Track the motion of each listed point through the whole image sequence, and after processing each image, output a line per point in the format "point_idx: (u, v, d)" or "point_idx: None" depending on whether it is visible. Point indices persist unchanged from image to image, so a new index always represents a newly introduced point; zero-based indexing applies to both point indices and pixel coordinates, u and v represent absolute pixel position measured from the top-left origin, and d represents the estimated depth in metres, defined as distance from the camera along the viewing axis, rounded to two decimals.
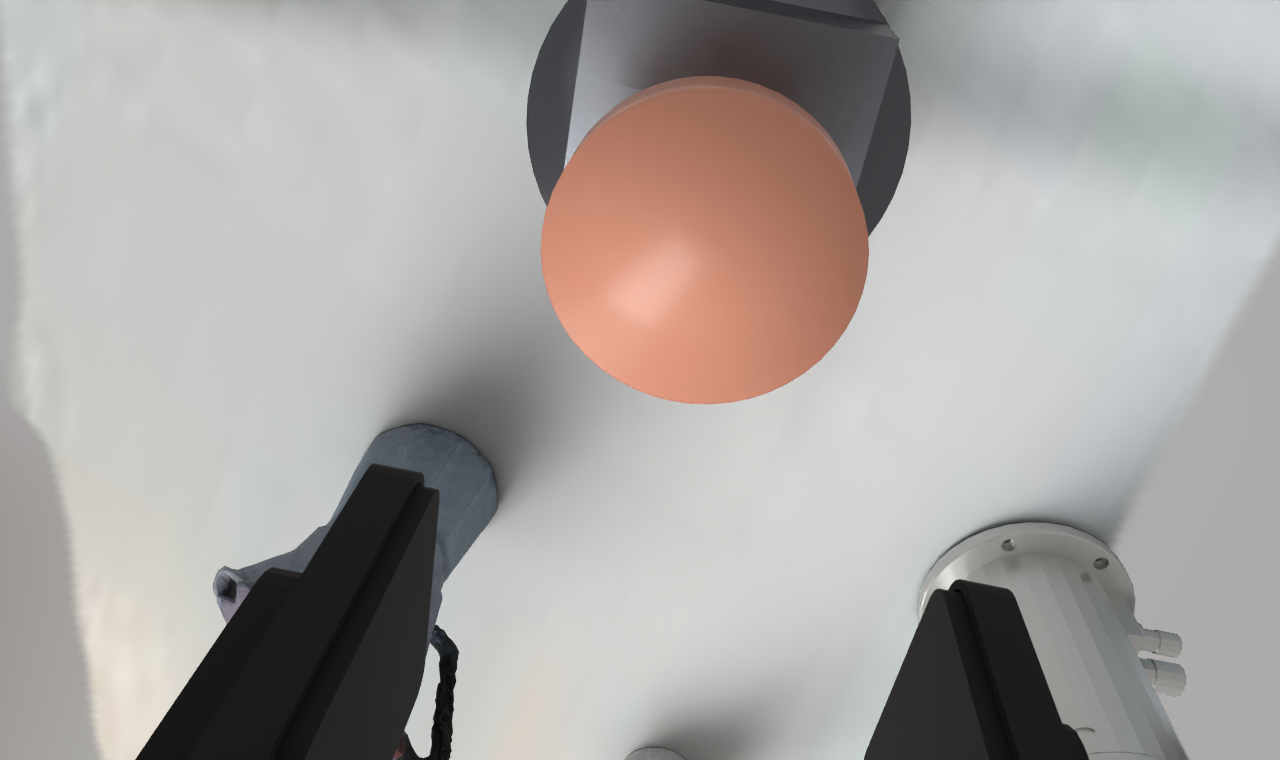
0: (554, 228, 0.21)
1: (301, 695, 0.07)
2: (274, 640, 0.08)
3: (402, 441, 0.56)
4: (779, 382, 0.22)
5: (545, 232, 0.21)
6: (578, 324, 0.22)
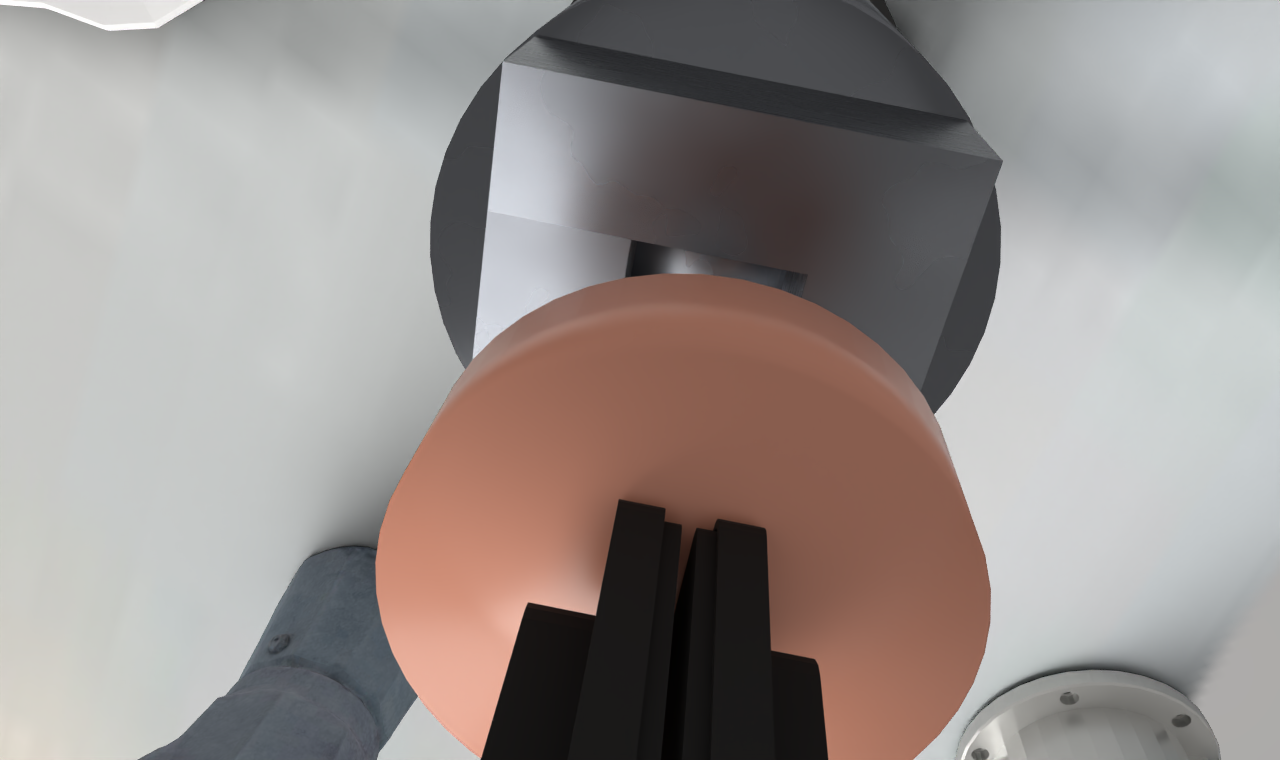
0: (397, 560, 0.11)
1: (638, 739, 0.07)
2: (595, 683, 0.08)
3: (333, 570, 0.47)
4: None
5: (381, 566, 0.11)
6: (453, 706, 0.12)
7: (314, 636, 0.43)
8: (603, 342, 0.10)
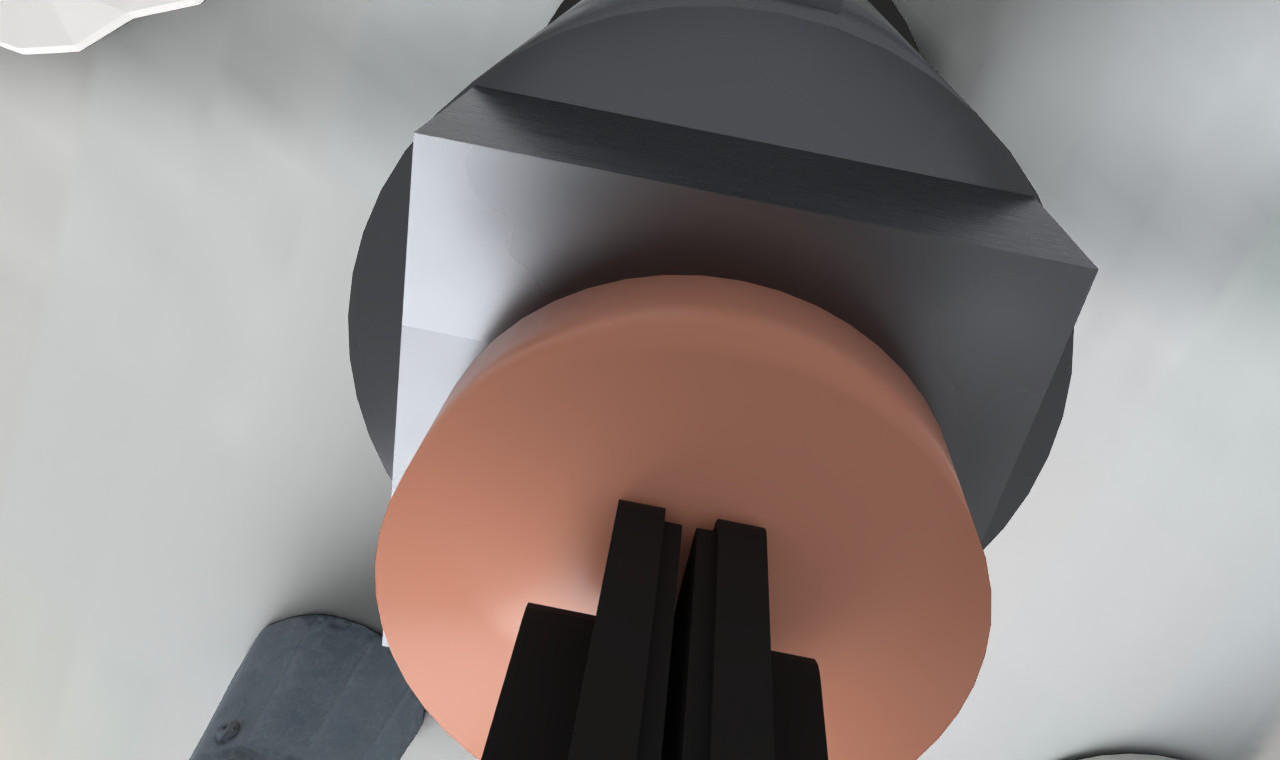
0: (397, 562, 0.11)
1: (638, 738, 0.07)
2: (595, 683, 0.08)
3: (292, 644, 0.42)
4: None
5: (381, 567, 0.11)
6: (453, 708, 0.12)
7: (267, 724, 0.39)
8: (603, 343, 0.10)
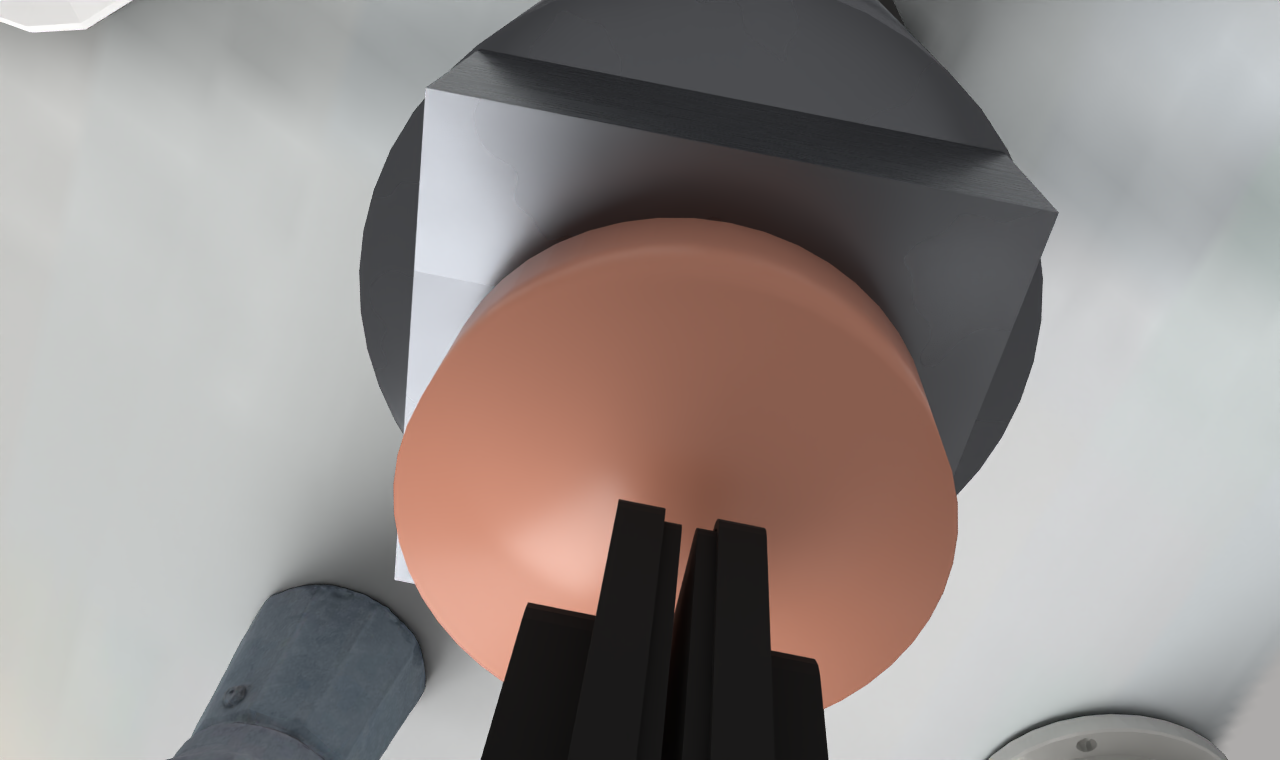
0: (414, 482, 0.12)
1: (638, 737, 0.07)
2: (595, 682, 0.08)
3: (296, 612, 0.43)
4: None
5: (399, 487, 0.12)
6: (465, 622, 0.13)
7: (273, 688, 0.40)
8: (603, 274, 0.11)
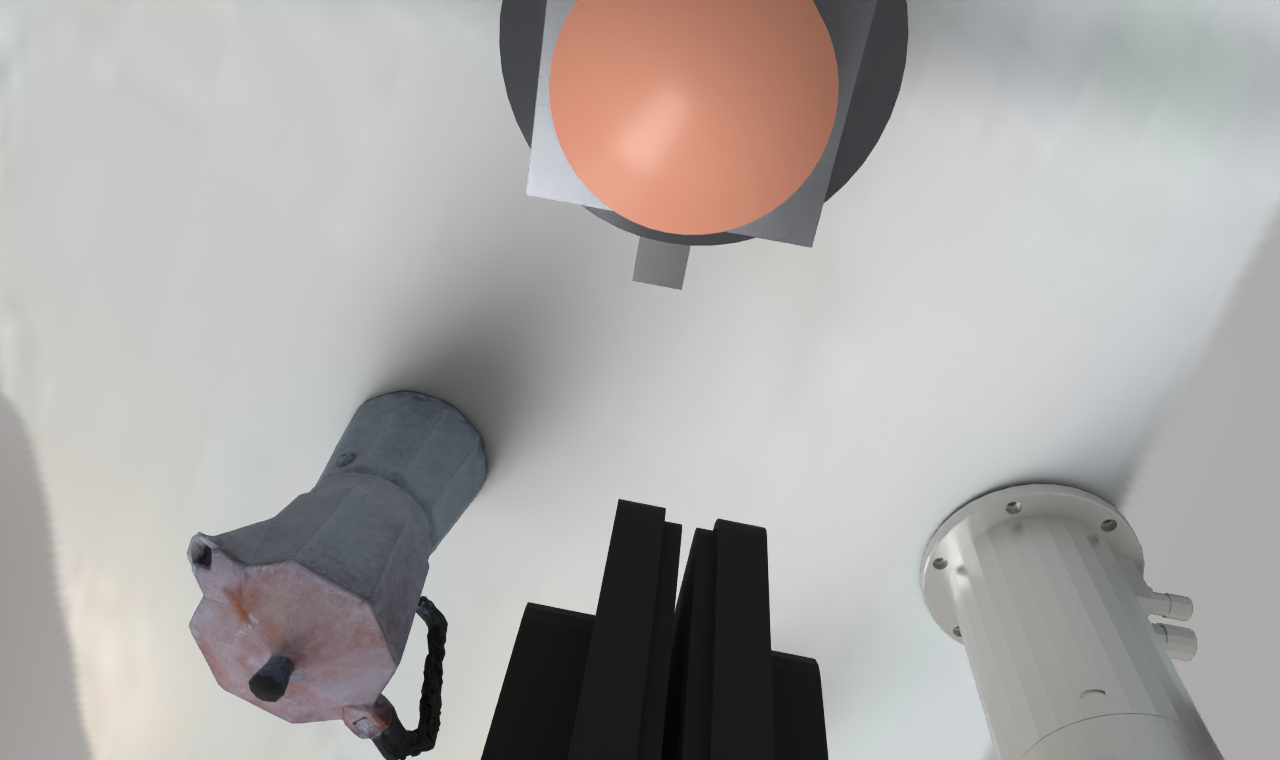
0: (560, 69, 0.23)
1: (638, 739, 0.07)
2: (595, 683, 0.08)
3: (387, 408, 0.55)
4: (762, 212, 0.25)
5: (552, 73, 0.23)
6: (582, 161, 0.24)
7: (375, 453, 0.51)
8: None
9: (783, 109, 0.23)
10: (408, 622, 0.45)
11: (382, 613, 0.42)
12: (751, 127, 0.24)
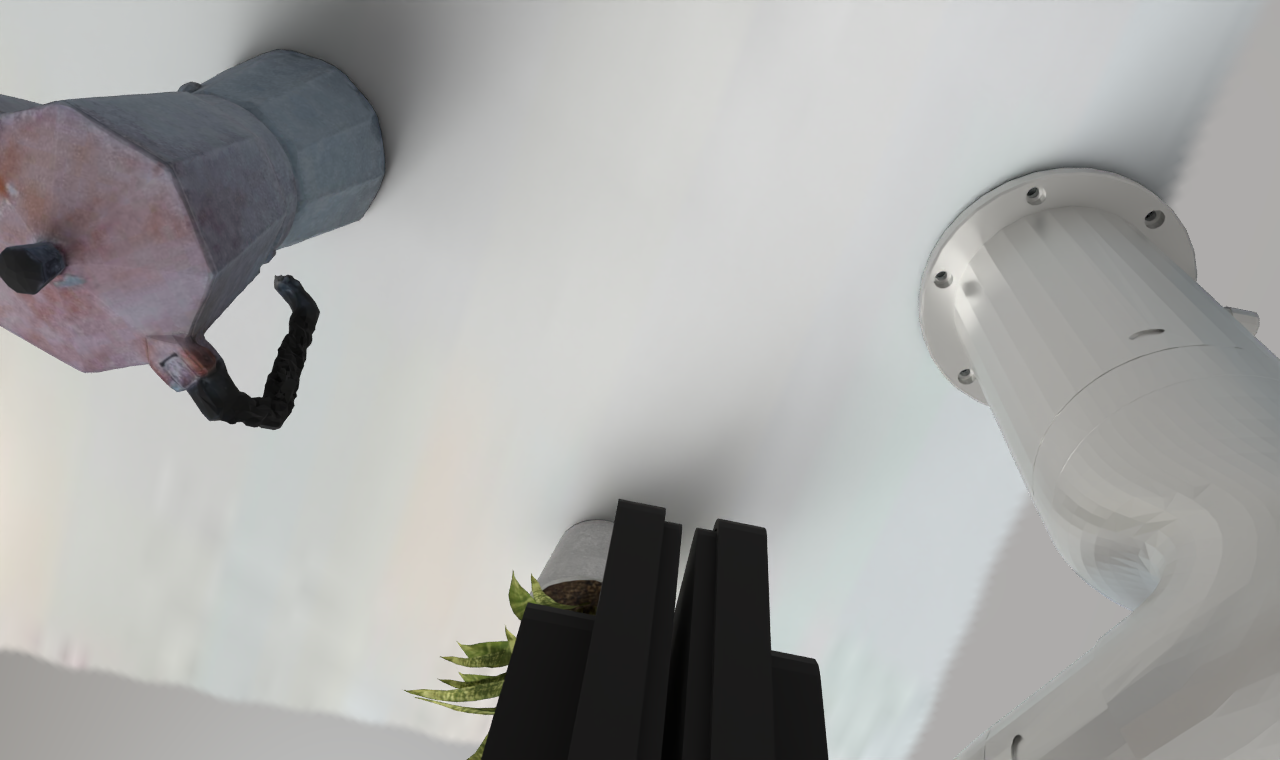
0: None
1: (638, 739, 0.07)
2: (595, 682, 0.08)
3: (254, 59, 0.44)
4: None
5: None
6: None
7: (227, 84, 0.40)
8: None
9: None
10: (240, 240, 0.34)
11: (191, 195, 0.31)
12: None
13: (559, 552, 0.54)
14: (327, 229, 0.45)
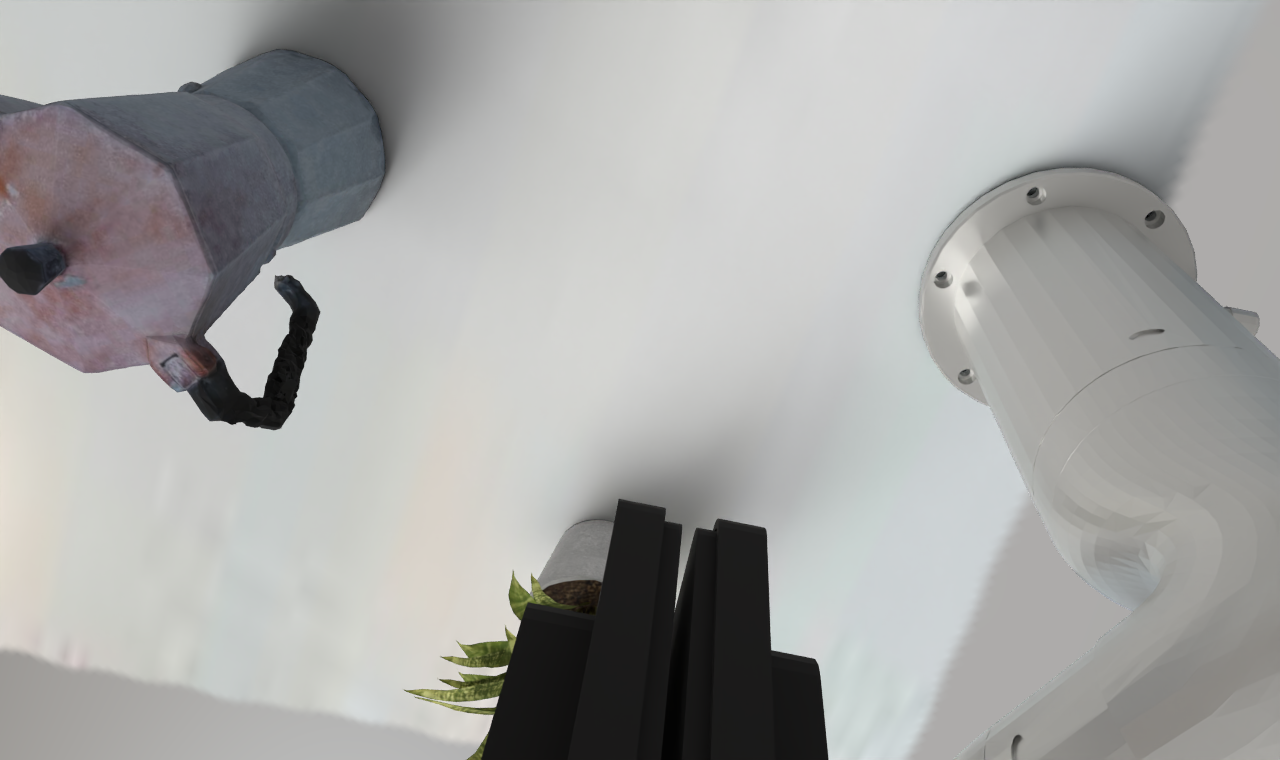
0: None
1: (638, 737, 0.07)
2: (595, 682, 0.08)
3: (254, 59, 0.44)
4: None
5: None
6: None
7: (227, 84, 0.40)
8: None
9: None
10: (241, 241, 0.34)
11: (192, 195, 0.31)
12: None
13: (559, 552, 0.54)
14: (327, 229, 0.45)
